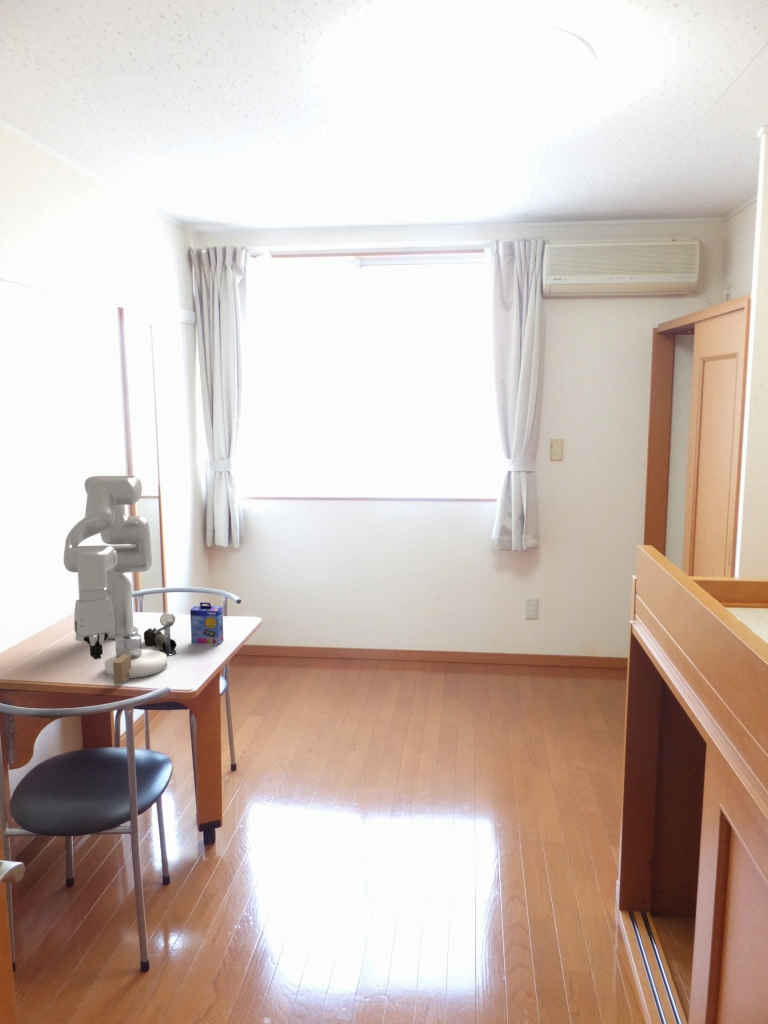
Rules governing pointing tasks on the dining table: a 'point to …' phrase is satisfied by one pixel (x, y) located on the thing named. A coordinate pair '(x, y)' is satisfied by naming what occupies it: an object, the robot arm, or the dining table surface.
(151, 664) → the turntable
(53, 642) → the dining table surface
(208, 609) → the ink cartridge box
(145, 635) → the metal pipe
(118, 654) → the silver metal cylinder
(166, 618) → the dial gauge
